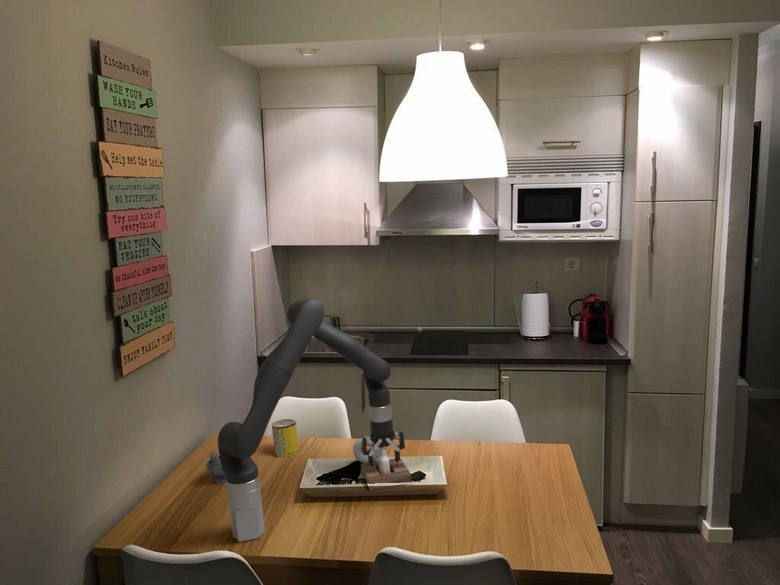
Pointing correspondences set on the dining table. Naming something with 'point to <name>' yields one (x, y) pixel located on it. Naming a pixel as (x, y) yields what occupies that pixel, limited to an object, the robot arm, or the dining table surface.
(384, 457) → the eye dropper bottle
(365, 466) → the walnut socket block
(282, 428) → the beverage can
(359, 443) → the donut
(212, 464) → the mortar and pestle
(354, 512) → the dining table surface
